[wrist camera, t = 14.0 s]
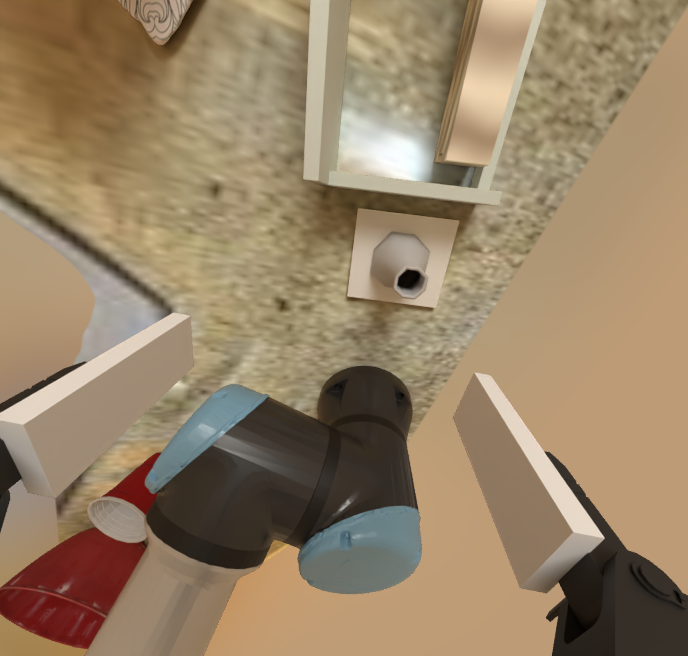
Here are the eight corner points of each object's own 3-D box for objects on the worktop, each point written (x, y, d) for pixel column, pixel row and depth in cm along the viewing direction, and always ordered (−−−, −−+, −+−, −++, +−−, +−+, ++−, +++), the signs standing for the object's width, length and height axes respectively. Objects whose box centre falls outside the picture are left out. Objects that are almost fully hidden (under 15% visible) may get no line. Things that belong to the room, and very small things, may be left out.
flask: (388, 220, 33) (396, 228, 24) (440, 247, 33) (467, 265, 24) (360, 274, 36) (358, 299, 26) (409, 298, 36) (423, 330, 27)
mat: (434, 305, 37) (435, 308, 37) (347, 294, 38) (347, 296, 37) (457, 220, 33) (459, 220, 32) (358, 207, 33) (357, 208, 32)
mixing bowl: (123, 577, 80) (71, 657, 66) (41, 520, 70) (-41, 600, 56) (195, 561, 72) (154, 647, 58) (115, 495, 62) (43, 580, 48)
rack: (476, 204, 32) (532, 206, 21) (325, 186, 32) (303, 179, 21) (568, -112, 22) (765, -419, 11) (347, -133, 22) (328, -448, 11)
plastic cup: (168, 436, 53) (116, 497, 42) (201, 473, 57) (161, 537, 46) (127, 449, 55) (68, 510, 44) (161, 483, 59) (115, 547, 48)
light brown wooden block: (467, 171, 31) (489, 165, 25) (432, 167, 31) (445, 160, 25) (527, -54, 23) (575, -131, 18) (480, -59, 24) (514, -136, 18)
